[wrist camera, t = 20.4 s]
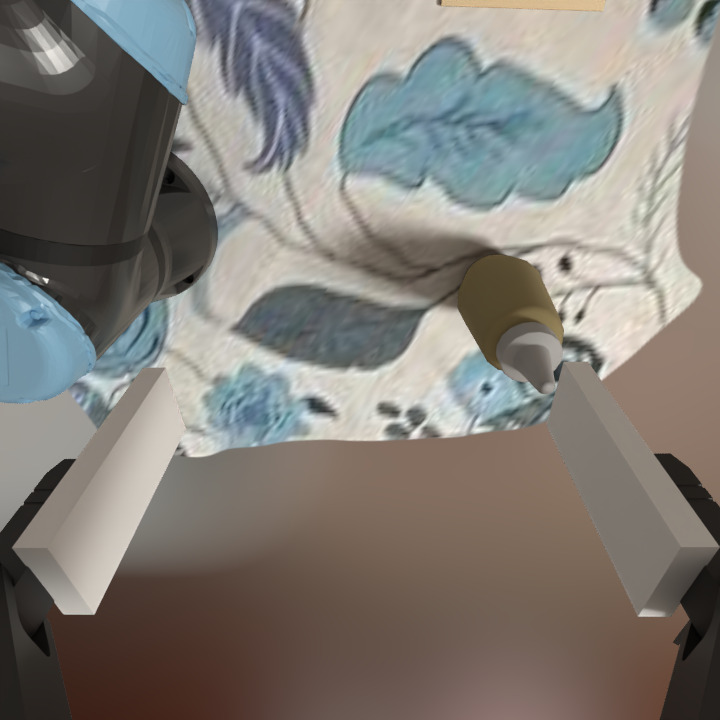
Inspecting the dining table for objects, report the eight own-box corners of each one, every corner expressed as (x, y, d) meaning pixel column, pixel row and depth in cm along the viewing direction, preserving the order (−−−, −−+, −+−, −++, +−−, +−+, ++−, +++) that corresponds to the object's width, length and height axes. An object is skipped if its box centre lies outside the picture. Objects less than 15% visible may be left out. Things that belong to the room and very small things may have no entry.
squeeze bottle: (499, 327, 49) (553, 445, 34) (436, 296, 47) (464, 405, 32) (549, 265, 45) (635, 367, 30) (482, 228, 43) (537, 317, 28)
